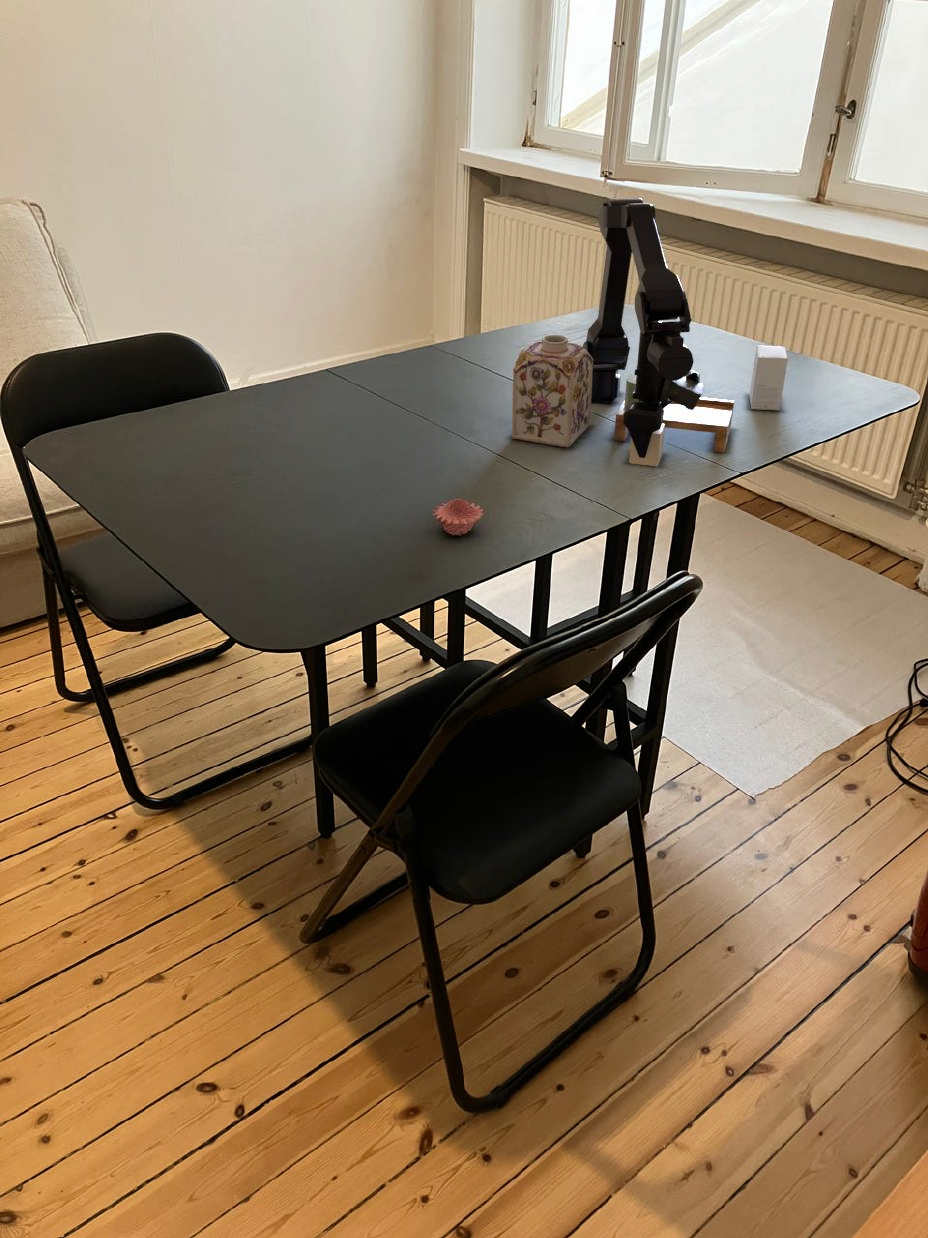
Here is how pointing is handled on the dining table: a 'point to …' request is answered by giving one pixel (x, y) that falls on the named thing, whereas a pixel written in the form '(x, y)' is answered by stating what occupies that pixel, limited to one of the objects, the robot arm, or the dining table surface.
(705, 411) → the shelf
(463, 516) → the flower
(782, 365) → the small box
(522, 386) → the decorative jar
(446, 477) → the dining table surface
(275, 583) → the dining table surface
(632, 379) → the ceramic canister
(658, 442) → the cream block
